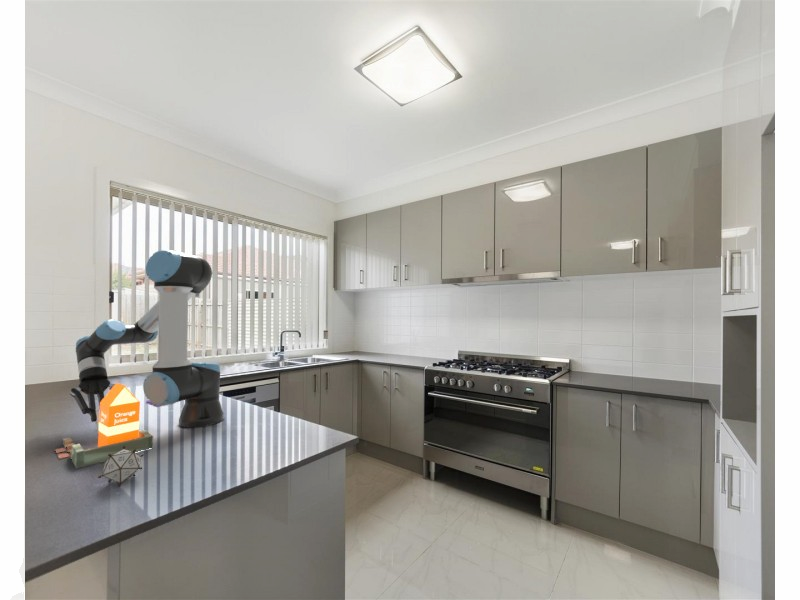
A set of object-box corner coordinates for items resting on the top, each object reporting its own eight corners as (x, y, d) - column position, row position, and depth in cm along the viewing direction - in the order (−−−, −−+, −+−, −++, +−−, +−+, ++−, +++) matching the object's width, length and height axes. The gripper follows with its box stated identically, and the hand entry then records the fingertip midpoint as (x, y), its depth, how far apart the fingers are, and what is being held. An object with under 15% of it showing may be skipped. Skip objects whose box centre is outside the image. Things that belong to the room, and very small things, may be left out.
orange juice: (128, 442, 108) (131, 380, 109) (138, 448, 103) (141, 383, 104) (96, 450, 102) (100, 384, 103) (105, 457, 97) (109, 388, 98)
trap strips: (54, 450, 102) (54, 449, 102) (64, 448, 103) (64, 447, 103) (59, 459, 95) (59, 458, 95) (69, 457, 97) (69, 456, 97)
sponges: (157, 407, 151) (157, 403, 152) (146, 403, 158) (146, 399, 159) (174, 404, 157) (174, 400, 157) (162, 400, 164) (162, 396, 164)
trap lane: (63, 445, 106) (64, 432, 106) (130, 431, 119) (130, 419, 119) (76, 468, 90) (77, 453, 90) (152, 449, 103) (152, 435, 103)
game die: (117, 495, 83) (121, 454, 89) (151, 481, 84) (153, 442, 90) (85, 493, 76) (91, 449, 81) (122, 478, 77) (127, 435, 82)
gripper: (113, 376, 129) (122, 429, 118) (66, 381, 119) (71, 439, 108) (117, 364, 126) (127, 417, 115) (69, 367, 116) (75, 426, 104)
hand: (100, 428), depth 111 cm, fingers closed
